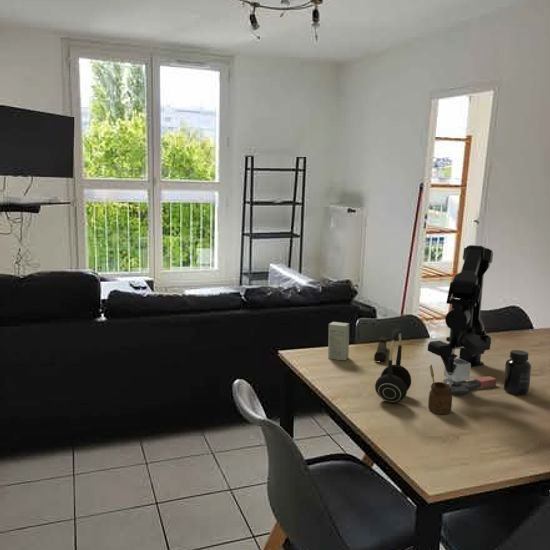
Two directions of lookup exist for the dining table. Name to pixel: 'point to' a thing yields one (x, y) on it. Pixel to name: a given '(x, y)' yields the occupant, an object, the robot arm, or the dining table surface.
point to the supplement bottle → (517, 373)
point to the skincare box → (338, 341)
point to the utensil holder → (440, 396)
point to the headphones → (394, 376)
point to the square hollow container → (459, 370)
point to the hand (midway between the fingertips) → (456, 373)
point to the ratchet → (469, 384)
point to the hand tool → (381, 350)
